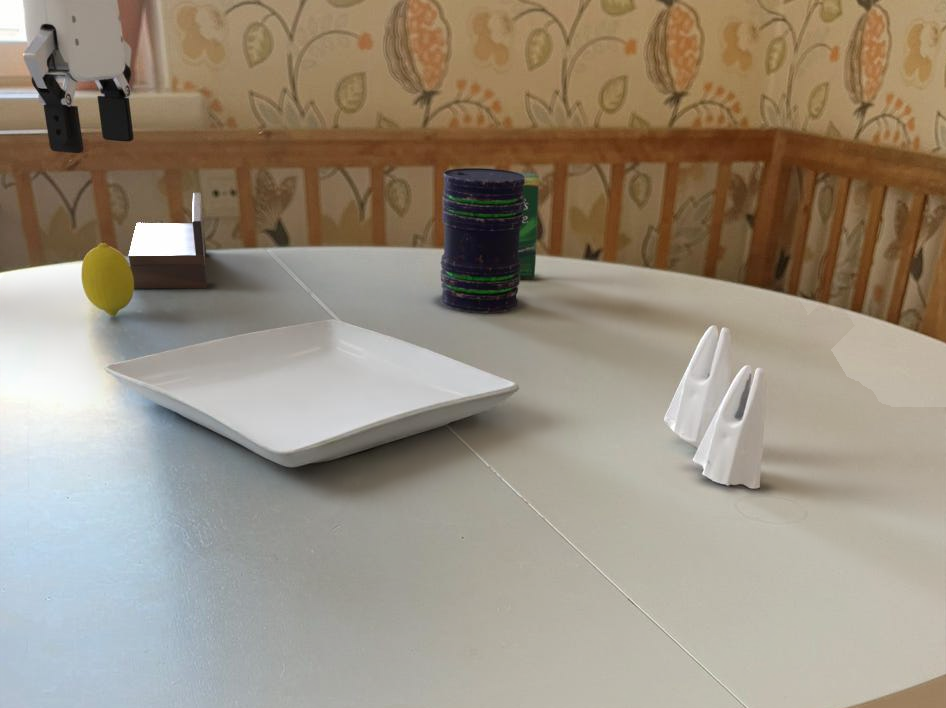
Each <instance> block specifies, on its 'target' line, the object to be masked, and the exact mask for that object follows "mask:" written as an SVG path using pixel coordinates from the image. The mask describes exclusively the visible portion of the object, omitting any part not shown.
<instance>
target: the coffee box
mask: <svg viewBox="0 0 946 708" xmlns="http://www.w3.org/2000/svg"><path fill="white" fill-rule="evenodd" d="M522 174H523V175H524V176H525V182H524V185H523V189H524V197H523V199H524V210H523V211H522V212H523V221H522V226H521V227H520V234H519V251H518V258H519V259H520V265H521V268H520V271H519V274H520V280H526V279H533V280H534V279H535V273H536V260H537V259H536V258H537V240H538V239H537V238H538V212H539V186H540V177H539V175H538V174H537V173H522Z"/></svg>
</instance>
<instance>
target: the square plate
mask: <svg viewBox="0 0 946 708" xmlns="http://www.w3.org/2000/svg"><path fill="white" fill-rule="evenodd" d="M102 368H103V370H104V371H105V372H106V373H108V374H110V375H111V376H112V377H113V378H114V379H115V380H116V381H117V382H119V383H120V384H121V385H123V386H124V387H125V388H126V389H129V390H130V391H131V392H134V393H135V394H137V395H138V396H140V397H143V398H144V399H147V400H149V401H151V402H153V403H154V404H156V405H159V406H160V407H163V408H165V409H168V410H169V411H172V412H174V413H176V414H178V415H179V416H181V417H184V418H185V419H188V420H189V421H191V422H193V423H196V424H198V425H200V426H202V427H204V428H206V429H209V430H210V431H212V432H214V433H216V434H218V435H220V436H223V437H225V438H227V439H229V440H230V441H232V442H235V443H237V444H239V445H241V446H243V447H244V448H246V449H248V450H249V451H251V452H253V453H255V454H256V455H259V456H261V457H262V458H264V459H267V460H269V461H271V462H274V463H276V464H277V465H280V466H282V467H287V468H297V467H302V466H305V465H309V464H318V463H319V464H320V463H325V462H330V461H333V460H337V459H340V458H344V457H346V456H351V455H353V454H357V453H360V452H363V451H366V450H369V449H372V448H376V447H379V446H382V445H385V444H389V443H391V442H394V441H398V440H401V439H404V438H408V437H412V436H414V435H418V434H421V433H425V432H428V431H432V430H435V429H438V428H441V427H444V426H446V425H448V424H450V423H452V422H456V421H459V420H463V419H465V418H468V417H471V416H475V415H477V414H481V413H483V412H485V411H488V410H490V409H493V408H495V407H497V406H499V405H500V404H502V403H504V402H506V400H508V399H509V398H510V397H512V396H513V395H514V394H515V393H517V392H518V391H519V390H520V385H519V384H517V383H516V382H514V381H512V380H509V379H506V378H503V377H501V376H497V375H495V374H493V373H490V372H487V371H484V370H483V369H479V368H477V367H474V366H471V365H469V364H466V363H464V362H463V361H462V362H461V361H459V360H456V359H454V358H452V357H448V356H447V355H444V354H440V353H438V352H435V351H432V350H430V349H427V348H425V347H422V346H419V345H416V344H414V343H411V342H408V341H405V340H402V339H399V338H396V337H393V336H389V335H387V334H384V333H380V332H377V331H373V330H370V329H367V328H364V327H360V326H357V325H353V324H351V323H347V322H345V321H342V320H338V319H324V320H320V321H314V322H307V323H301V324H295V325H289V326H282V327H277V328H270V329H265V330H260V331H255V332H254V331H253V332H249V333H243V334H238V335H233V336H229V337H224V338H218V339H214V340H210V341H209V340H208V341H204V342H200V343H195V344H192V345H187V346H183V347H179V348H175V349H170V350H165V351H161V352H157V353H153V354H149V355H145V356H140V357H137V358H132V359H128V360H123V361H118V362H114V363H113V362H112V363H110V364H106V365H104V366H103V367H102Z"/></svg>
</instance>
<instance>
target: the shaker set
mask: <svg viewBox="0 0 946 708" xmlns="http://www.w3.org/2000/svg"><path fill="white" fill-rule="evenodd" d="M718 330H719V329H718V327H717V325H715V324H714V325H711V326H709V327H708V328H707V330H706V331H705V332H704V334H703V336H702V337H701V338H700V341H699V342H698V343H697V344H698V345H697V346H696V348H695V351H694V353H693V355H692V357H691V359H690V362H689V364H688V365H687V368H686V370H685V372H684V374H683V375H682V378H681V380H680V382H679V385H678V386H677V389H676V391H675V393H674V396H673V397H672V400H671V402H670V404H669V406H668V409H667V411H666V413H665V415H664V417H663V421H664V423H665V424H666V426H667V427H668V428H670V429H671V430H672V432H673V433H674V434H676V435H677V436H678V437H679V438H681V439H682V440H683V441H685V442H686V443H688V444H690V445H691V446H693V447H694V448H696V449H697V450H696V452H695V454H694V455H693V458H692V462H693V463H695V464H697V465H700V466H702V469H703V471H702V472H701V474H702V475H703V476H704V477H707V478H708V479H710V480H711V482H715V483H717V484H720V485H726V486H730V485H732V486H737V485H743V486H746V487H747V488H748V489H751V490H754V489H758V488H760V487H761V475H762V473H761V472H762V461H763V448H764V436H765V435H764V434H765V416H766V415H765V414H766V386H767V378H766V372H765V370H764V369H763V368H761V367H757V368H756V369H755V372H754V375H753V378H752V366H751V365H748V364H746V365H744V366H743V367H741V369H740V370H738V373H737V374H736V376H735V377H734V378H733V381H732V382H731V366H732V365H731V363H732V362H731V359H732V358H731V357H732V334H731V330H730V329H729V328H727V327H726V326H724V327H722V328H721V329H720V333H719V331H718Z"/></svg>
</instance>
